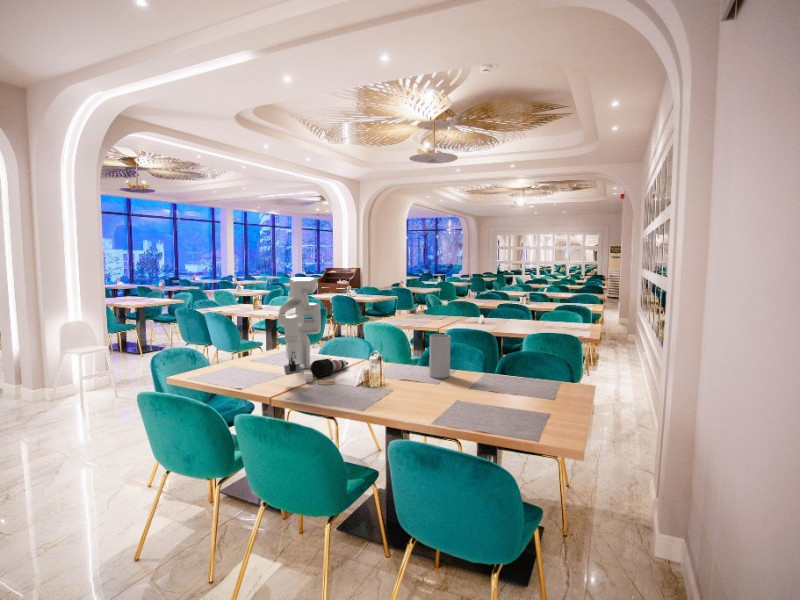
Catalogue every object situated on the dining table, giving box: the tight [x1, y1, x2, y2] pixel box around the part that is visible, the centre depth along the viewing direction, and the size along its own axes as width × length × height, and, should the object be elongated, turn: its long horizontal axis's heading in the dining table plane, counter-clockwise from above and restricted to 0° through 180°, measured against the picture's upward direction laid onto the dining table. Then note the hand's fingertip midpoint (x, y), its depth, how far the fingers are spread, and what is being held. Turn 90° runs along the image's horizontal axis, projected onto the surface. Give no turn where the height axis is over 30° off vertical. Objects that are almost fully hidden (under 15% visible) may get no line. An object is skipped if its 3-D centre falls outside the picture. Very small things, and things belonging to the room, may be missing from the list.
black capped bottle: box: [310, 358, 349, 378], centre depth 287 cm, size 10×34×10 cm, turn 155°
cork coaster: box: [317, 379, 336, 386], centre depth 262 cm, size 10×10×1 cm
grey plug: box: [283, 362, 305, 376], centre depth 257 cm, size 11×4×5 cm, turn 111°
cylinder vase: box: [428, 333, 451, 379], centre depth 277 cm, size 12×12×25 cm
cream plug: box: [303, 369, 314, 383], centre depth 266 cm, size 11×4×5 cm, turn 21°
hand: (292, 369), depth 257 cm, fingers closed on grey plug, 4 cm apart
